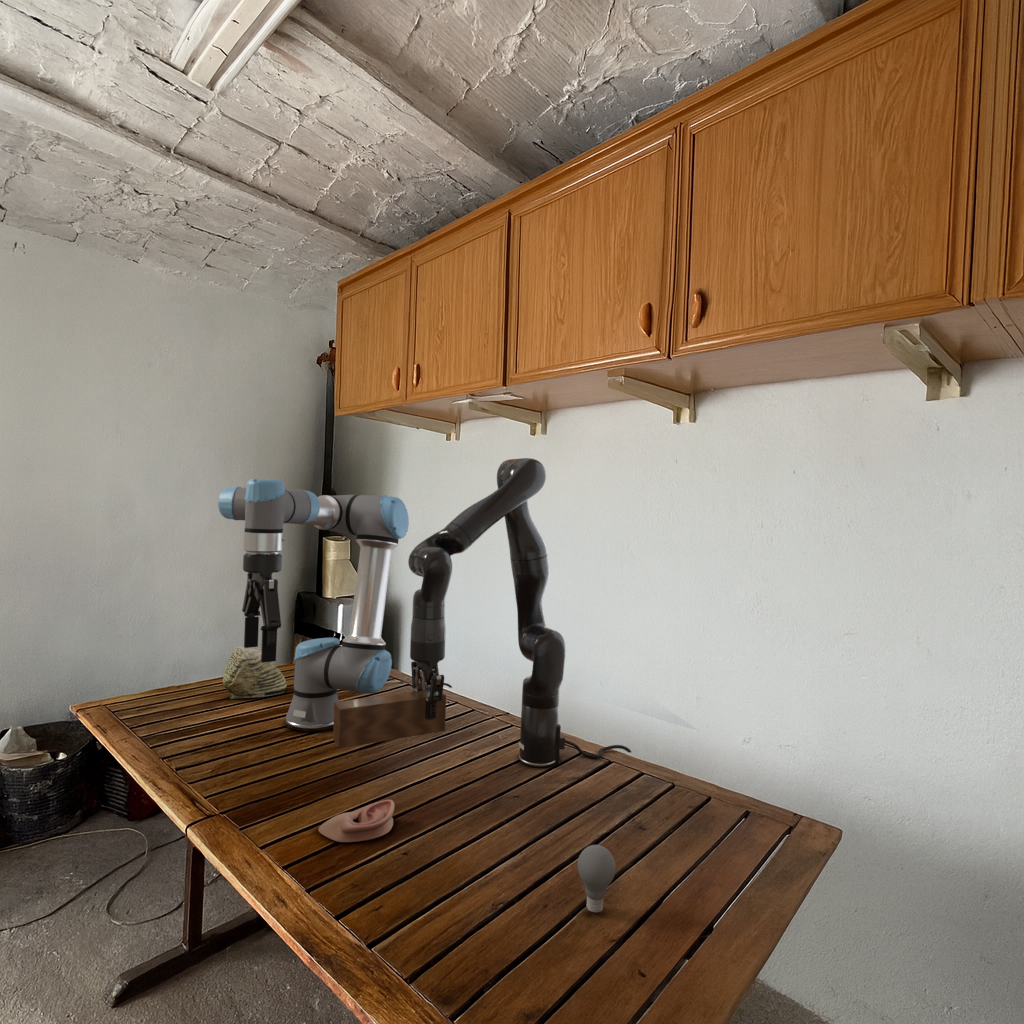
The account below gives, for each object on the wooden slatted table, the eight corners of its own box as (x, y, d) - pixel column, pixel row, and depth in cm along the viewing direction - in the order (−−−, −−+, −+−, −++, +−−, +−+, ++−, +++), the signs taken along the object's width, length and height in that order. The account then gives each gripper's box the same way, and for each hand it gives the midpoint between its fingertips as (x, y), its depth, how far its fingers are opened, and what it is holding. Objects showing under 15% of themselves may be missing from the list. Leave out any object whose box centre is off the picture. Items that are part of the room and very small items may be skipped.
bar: (339, 748, 127) (340, 709, 126) (333, 739, 131) (334, 701, 131) (445, 730, 138) (446, 694, 138) (436, 723, 142) (437, 688, 142)
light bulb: (572, 898, 103) (575, 837, 103) (608, 897, 103) (611, 837, 103) (579, 922, 97) (582, 858, 97) (617, 922, 97) (620, 858, 97)
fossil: (218, 695, 195) (220, 647, 195) (278, 685, 208) (279, 640, 207) (228, 703, 189) (230, 653, 188) (289, 692, 201) (290, 645, 201)
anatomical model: (310, 816, 117) (339, 789, 129) (309, 837, 117) (338, 808, 129) (377, 827, 115) (401, 798, 126) (376, 848, 115) (400, 818, 126)
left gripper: (300, 558, 124) (296, 665, 125) (265, 547, 144) (261, 640, 145) (260, 559, 120) (256, 670, 120) (229, 547, 140) (226, 643, 140)
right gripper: (457, 643, 133) (454, 723, 134) (431, 629, 146) (429, 702, 146) (423, 646, 130) (421, 728, 130) (400, 631, 142) (398, 706, 143)
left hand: (259, 654), depth 132 cm, fingers open, 13 cm apart
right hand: (425, 714), depth 138 cm, fingers closed on bar, 5 cm apart
